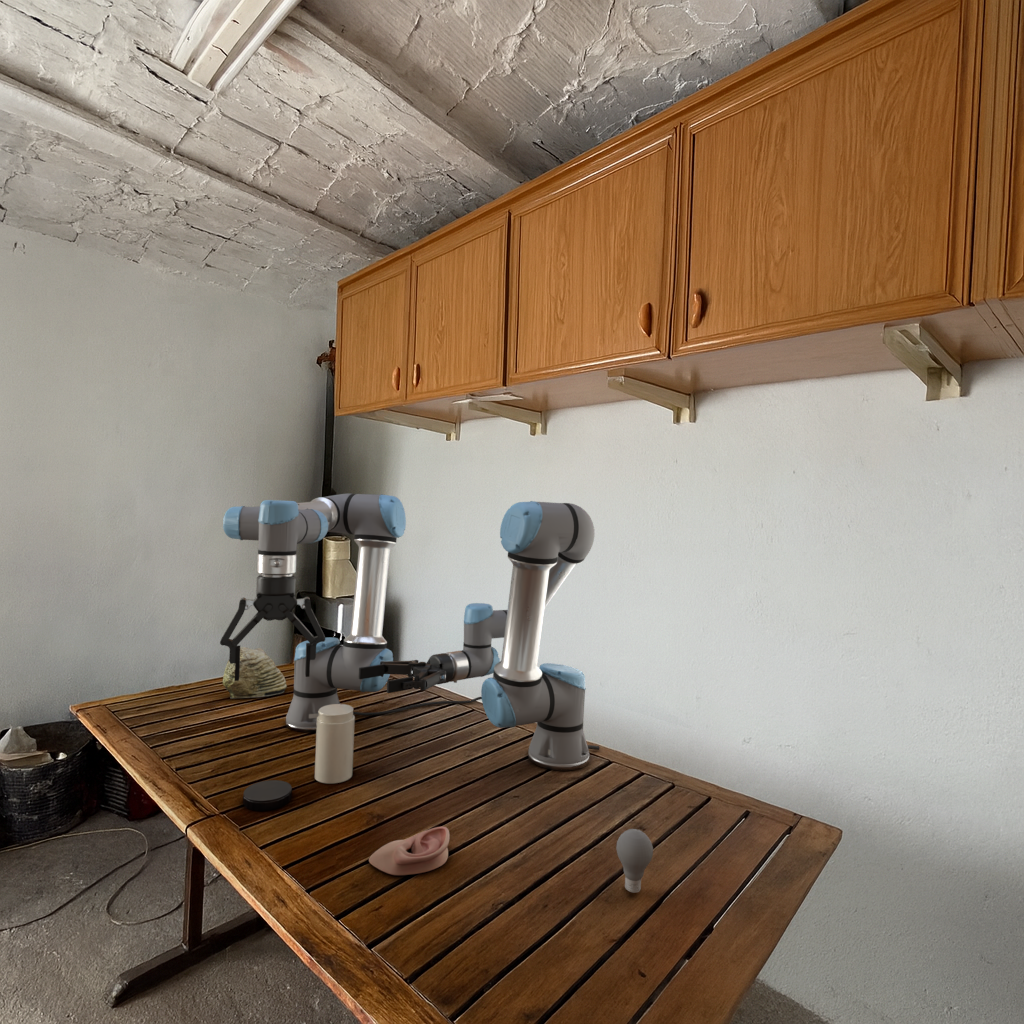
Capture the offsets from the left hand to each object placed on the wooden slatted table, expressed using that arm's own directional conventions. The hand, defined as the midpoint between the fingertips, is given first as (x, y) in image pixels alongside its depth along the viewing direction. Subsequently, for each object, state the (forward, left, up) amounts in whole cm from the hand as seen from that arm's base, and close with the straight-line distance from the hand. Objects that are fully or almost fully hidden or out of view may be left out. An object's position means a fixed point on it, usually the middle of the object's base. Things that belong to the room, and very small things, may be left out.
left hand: (272, 677), depth 131 cm
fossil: (-33, -65, -26) cm, 77 cm away
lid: (0, 0, -24) cm, 24 cm away
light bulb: (-24, +72, -26) cm, 80 cm away
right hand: (-25, +2, -5) cm, 26 cm away
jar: (-16, 0, -26) cm, 30 cm away
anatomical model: (-5, +38, -26) cm, 46 cm away
